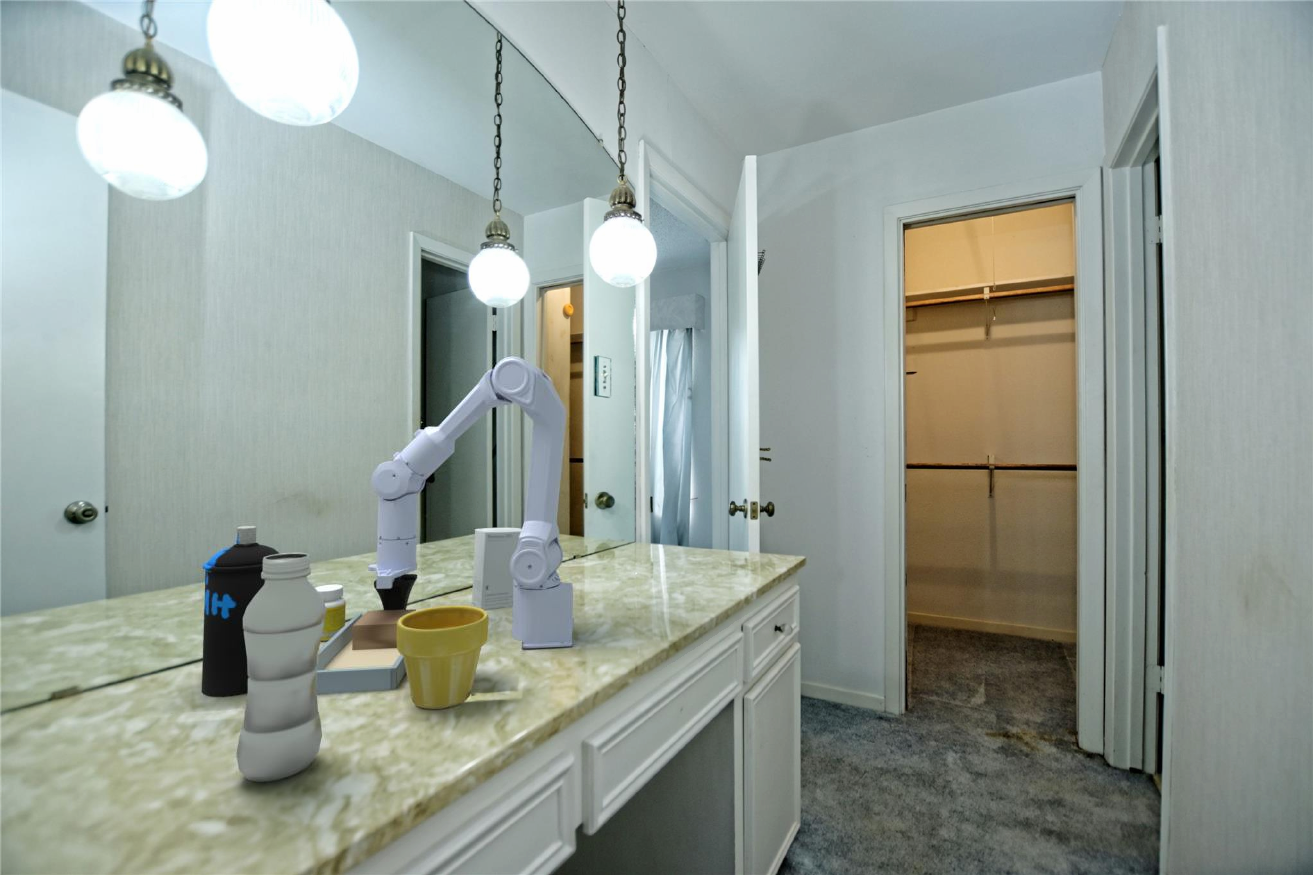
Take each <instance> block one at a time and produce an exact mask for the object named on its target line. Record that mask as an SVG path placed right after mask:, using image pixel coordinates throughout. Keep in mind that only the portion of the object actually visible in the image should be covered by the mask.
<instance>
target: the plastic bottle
mask: <svg viewBox="0 0 1313 875" xmlns="http://www.w3.org/2000/svg"><path fill="white" fill-rule="evenodd" d="M311 574H312V569H311V556H310V554H309V553H305V552H286V553H280V554H275V555H269V556H266V557H264V558H263V572H262V573H261V578H262V579H265V584H264V586H263V587H262V588H261V589H260V590H259V591H258V593H257V594H256V595H255V596H254V598H253V599H252V600H251V602H250V603H249V605H248V606H247V608H246V611H245V614H244V616H243V629H244V638H245V645H246V653H247V666H248V676H249V678H248V693H247V694H246V704H245V711H244V717H243V723H242V724H243V725H242V727H241V730H240V734H239V738H238V742H237V743H238V744H237V748H236V754H235V755H236V761H237V766H238V767H237V768H238V770H239V772H240V773H241V774H242V775H243V776H244V777H245V778H246V779H248V780H249V781H253V782H263V783H264V782H272V781H273V782H274V781H278V780H281V779H285V778H288V777H292V776H293V775H295V774H298V773H300V772H302V771H303V770H305V769H306V768H308V767H309V766H310V765H311V764H312V762H313V761H314V759H315V758H316V757H317V756H318V754H319V751H320V747H321V743H322V742H321V741H322V739H323V730H322V722H321V716H320V712H319V706H318V694H317V684H316V677H317V664H318V656H319V649H320V648H321V646H320V645H321V643H322V642H321V637H322V632H323V626H324V620H325V615H326V607H325V603H324V600H323V598H322V597H321V595H320V594H319V592H318V591H317V590H316V589H315V588H316V587H315V586H313V584H311V582H310V581H309V580H308V576H311Z"/></svg>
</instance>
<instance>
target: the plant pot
mask: <svg viewBox="0 0 1313 875" xmlns="http://www.w3.org/2000/svg"><path fill="white" fill-rule="evenodd" d="M488 635H489V613H488V612H487V610H483V609H480V608H477V607H476V606H469V605H442V606H441V605H440V606H434V607H428V608H427V607H426V608H422V609H418V610H417V609H416V611H414V612H411V613H408V614H406V615H404V616H402V617H401V618H400V619H399V620H398V622H397V650H398V652H399V653H400V654H402V655H403V658H404V663H405V668H406V672H407V673H406V675H407V680H408V685H409V691H410V696H411V701H412V702H413V704H414V705H415V706H417V707H419V708H421V709H427V710H428V709H429V710H438V709H439V710H440V709H446V708H447V709H448V708H451V707H455V706H457V705H460V704H462V703H464V702H466V701H468V699H469V698H470V697H471V695H472V693H471V690H472V689H473V685H474V680H475V677H476V672H477V668H478V663H479V660H480V655H481V651H482V647H484V645H485V644H486V643H487V642H488V637H489V636H488Z"/></svg>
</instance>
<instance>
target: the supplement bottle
mask: <svg viewBox="0 0 1313 875" xmlns="http://www.w3.org/2000/svg"><path fill="white" fill-rule="evenodd" d="M314 588H315V589H316V590H317V591H318V592H319V594H320V595H321V597H322V598H323V600H324V603H325V607H326V615H325V620H324V626H323V632H322V637H321V642H320V643H327V642H328V641H329V640H330V639H331V638H332V637H333V636H334V635H335V634H336V633H337V632H338V631H339V630H341V629H342V628H343V627H344V626H345V625H346V599H345V598H344V597H343V596H344V586H343V585H341V584H326V585H320V586H316V587H314Z"/></svg>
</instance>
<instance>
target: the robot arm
mask: <svg viewBox="0 0 1313 875" xmlns="http://www.w3.org/2000/svg"><path fill="white" fill-rule="evenodd" d="M514 404H516V405H518V406H519V407H520V409H521V410H522V411H523V412H524V413H526V415H527V416H528V417H529V418H530V420H532V422H533V423H532V424H533V425H532V435H531V436H532V437H531V445H530V447H531V448H530V455H529V456H530V457H529V465H528V466H529V467H528V479H527V489H526V490H527V491H526V497H525V498H526V501H525V511H524V520H523V524H522V527H521V529H522V530H521V532H520V535H519V539H518V546H517V549H516V551H515V553H514V554H513V556H512V558H511V561H510V572H511V575H512V577H513V579H514V586H513V606H512V627H511V628H512V630H511V631H512V632H511V633H512V635H511V636H512V638H513V639H514V640H517V641H519V642H521V649H522V650H523V649H524V650H525V649H539V648H540V649H544V648H561V647H562V648H563V647H564V648H565V647H572V646H573V630H574V628H575V620H574V616H573V615H574V613H573V612H574V589H573V588H574V587H573V583H572V582H564V581H563V582H562V581H561V577H560V575H559V573H558V572H557V570H558V569H559V568H560V566H561V565H562V562H563V559H564V552H563V548H562V546H561V543H560V542H561V541H560V529H559V526H558V511H559V501H560V500H559V499H560V490H561V482H562V481H561V480H562V479H561V478H562V469H563V458H564V447H565V436H566V435H565V434H566V425H567V410H566V407H565V405H564V404H563V402H562V400H561V398H560V396H559V393H558V392H557V390H556V388H555V387H554V383H553V380H552V379H551V377H550V376H548V375H547V374H546V372H544V371H543V370H542V369H541V368H539V367H538V366H537V365H533V364H530V363H529V362H527V361H526V360H525V359H523V358H522V357H518V356H507V357H505V358H502V359H501V360H500V361H498V362H497V364H495V367H494V368H493V369H490V370H488V371H486V372H485V373H484V375H483V376H482V377H481V378H480V380H479V382H478V383H477V384H476V385H475V386H474V387H473V389H472V390H471V391H470V392H469V393H468V394H467V395H466V396H465V397H464V398H463V400H461V401H460V402H459V404H458V405H457V406H456V407H454V409H453V410H452V411H451V412H450V413H449V414H448V416H446V418H445V419H444V420H443V421H441V423H440V424H439V425H438V426H426V427H424V429H418V430H417V429H416V431H415V432H414V434H413V436H414V437H415V438H413V440H411V442H409V444H408V445H407V446H406V447H404V448H403V449H402V450H401V451H397V452H395V453H394V454H393V455H392V457H393V460H392V461H391V460H390V461H385V462H381V463H380V464H378V465H377V467H376V468H375V469H374V471H373V473H372V475H371V488H372V489H373V491H374V493H375V494H376V495H377V496H378V502H377V503H378V504H377V506H378V507H377V541H376V543H377V545H376V563H373V564H372V563H371V564H370V565H368V567H367V571H368V572H369V571H370V572H375V574H376V579H375V580H374V581H373V587H374V589H375V591H376V592H377V594H378V596H379V598H380V601H381V603H382V604H381V605H382V609H383V610H407V607H408V602H409V598H410V595H411V592H412V589H413V587H414V585H415V583H416V581H417V579H418V574H417V573H416V574H415V573H412V572H414V571H416V570H417V569H418V562H417V540H418V538H417V537H418V536H417V535H418V534H417V532H418V500H419V498H418V497H419V494H420V493H421V492H422V490H423V489H424V488H425V484H426V480H427V479H428V478H429V477H430V476H431V475H432V474H433V473H435V471H436V470H438V468H439V467H440V466H441V465H443V463H444V462H445V461H446V460H448V459H449V458H450V456H452V454H454V453H455V446H456V440H457V439H458V438H459V437H460V436H462V435H463V434H464V433H465V432H466V431H467V430H468V429H469V428H470V427H472V426H473V425H474V424H475V423H476V422H477V421H479V420H480V419H481V418H483V416H485V414H487V413H488V412H489V411H490V410H491V409H493V408H497V407H503V406H508V405H514Z"/></svg>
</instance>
